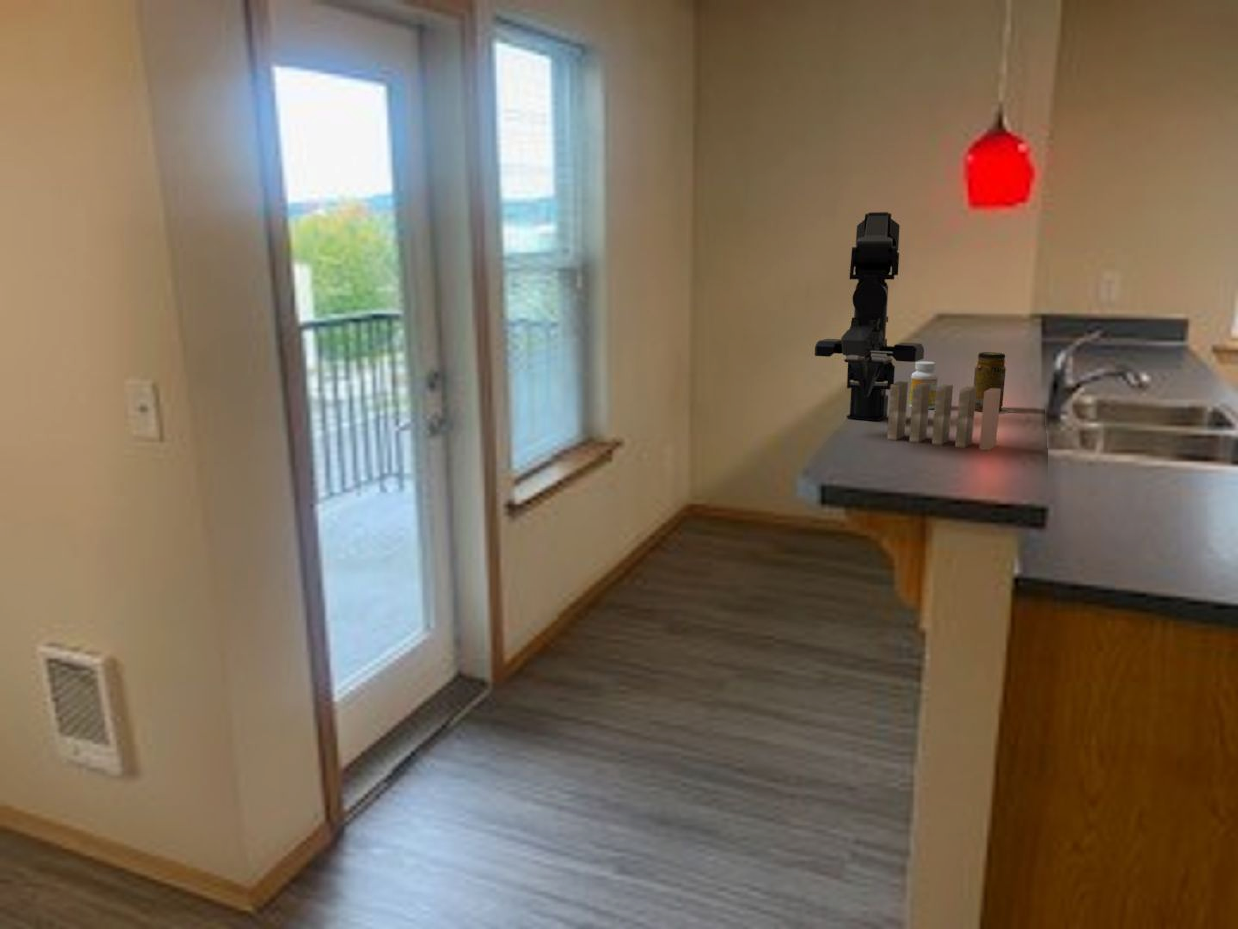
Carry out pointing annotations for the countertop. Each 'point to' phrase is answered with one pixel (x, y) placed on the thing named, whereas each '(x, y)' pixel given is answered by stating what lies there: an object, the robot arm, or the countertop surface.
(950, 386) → the domino
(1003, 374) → the condiment
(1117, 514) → the countertop surface
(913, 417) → the domino
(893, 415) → the domino
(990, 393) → the domino
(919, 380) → the supplement bottle
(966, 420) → the domino
